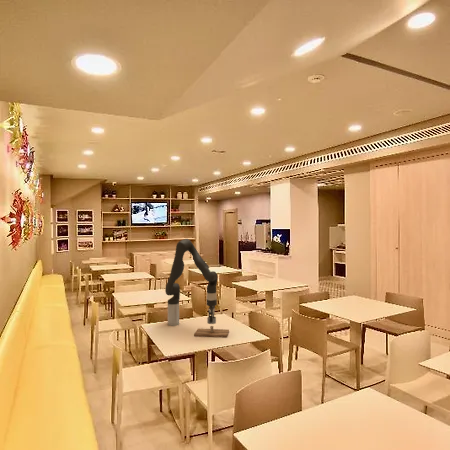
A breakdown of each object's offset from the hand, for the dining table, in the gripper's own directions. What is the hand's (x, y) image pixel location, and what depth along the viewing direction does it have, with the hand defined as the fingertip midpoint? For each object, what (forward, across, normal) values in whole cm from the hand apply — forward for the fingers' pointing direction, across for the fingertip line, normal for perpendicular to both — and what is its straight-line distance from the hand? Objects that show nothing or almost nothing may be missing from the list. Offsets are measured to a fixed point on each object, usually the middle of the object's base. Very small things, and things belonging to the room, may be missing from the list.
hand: (211, 321), depth 266 cm
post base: (+9, 0, 0) cm, 9 cm away
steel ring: (+1, 0, 0) cm, 1 cm away
